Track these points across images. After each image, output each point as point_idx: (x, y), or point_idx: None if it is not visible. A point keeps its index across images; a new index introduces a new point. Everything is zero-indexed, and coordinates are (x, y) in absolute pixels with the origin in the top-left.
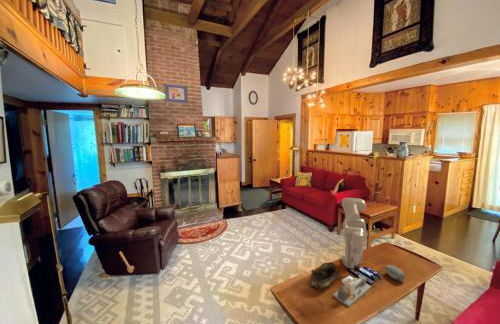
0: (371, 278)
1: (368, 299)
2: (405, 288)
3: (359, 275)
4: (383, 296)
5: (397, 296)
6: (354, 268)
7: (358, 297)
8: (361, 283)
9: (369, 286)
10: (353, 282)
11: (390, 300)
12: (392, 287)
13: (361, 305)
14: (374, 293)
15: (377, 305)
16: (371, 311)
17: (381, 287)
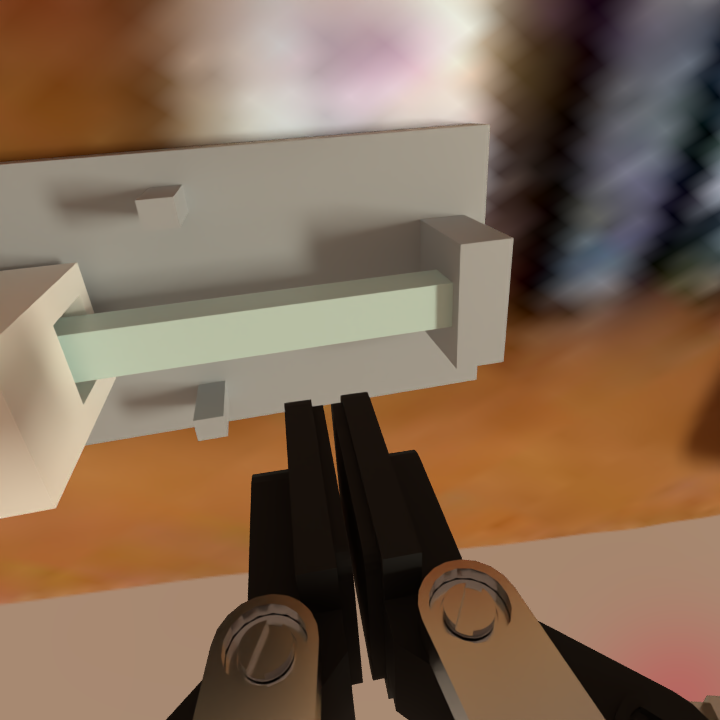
0: (660, 250)
1: (240, 469)
2: (705, 499)
3: (502, 243)
4: (436, 495)
5: (541, 535)
6: (253, 515)
7: (106, 439)
8: None
9: (449, 372)
10: (7, 500)
11: None
12: (645, 451)
13: (62, 499)
14: (401, 436)
15: None
16: (107, 579)
17: (566, 408)
